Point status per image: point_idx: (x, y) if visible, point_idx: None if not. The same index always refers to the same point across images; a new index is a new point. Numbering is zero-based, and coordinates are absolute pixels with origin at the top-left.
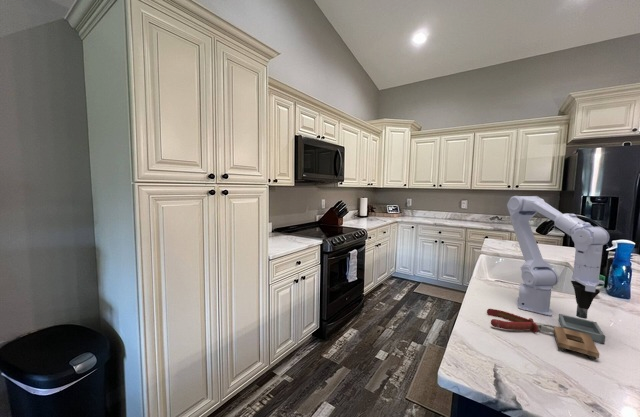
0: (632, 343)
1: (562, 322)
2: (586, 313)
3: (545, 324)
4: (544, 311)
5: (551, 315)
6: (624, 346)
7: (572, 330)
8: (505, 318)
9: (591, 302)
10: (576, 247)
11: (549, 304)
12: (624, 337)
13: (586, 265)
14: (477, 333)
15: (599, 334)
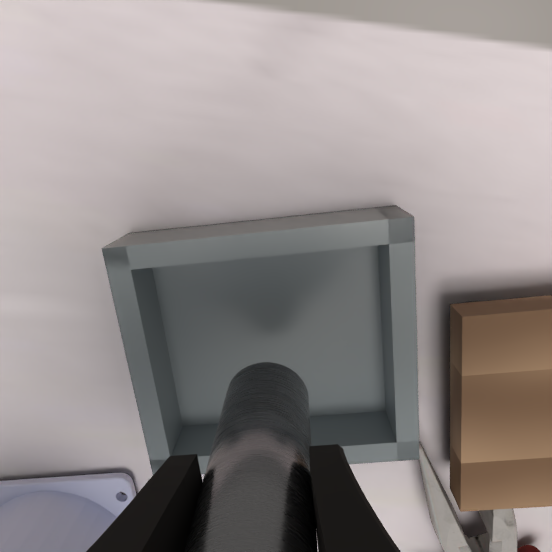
0: (199, 12)
1: None
2: (293, 404)
3: (462, 545)
4: (110, 521)
5: (126, 476)
6: (318, 78)
7: (464, 413)
8: None
9: (379, 526)
10: None
11: (39, 549)
12: (111, 53)
13: None
14: None
15: (399, 251)
